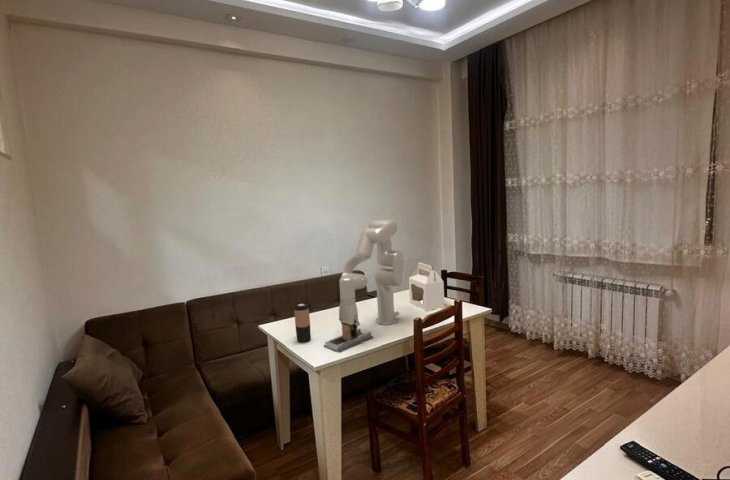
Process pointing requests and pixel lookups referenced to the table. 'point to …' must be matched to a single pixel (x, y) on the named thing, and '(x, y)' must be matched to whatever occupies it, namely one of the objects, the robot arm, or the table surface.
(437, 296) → the gable box
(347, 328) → the walnut block
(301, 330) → the travel mug
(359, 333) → the guide channel
